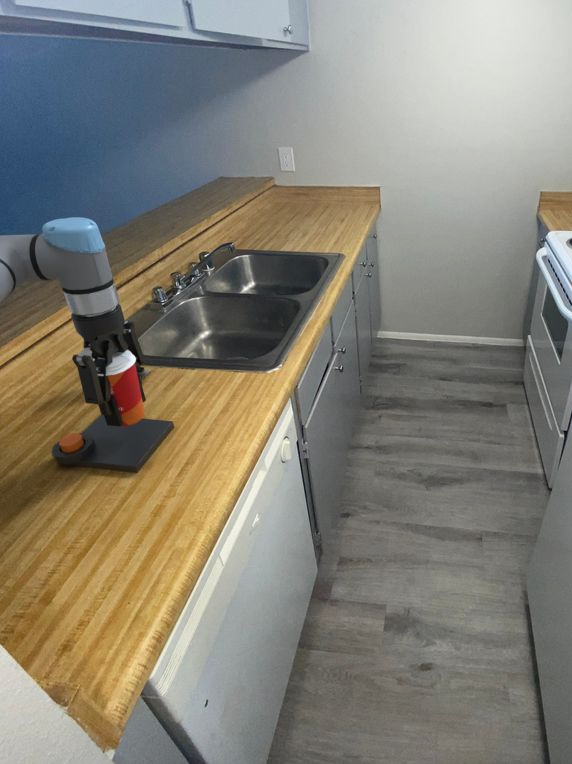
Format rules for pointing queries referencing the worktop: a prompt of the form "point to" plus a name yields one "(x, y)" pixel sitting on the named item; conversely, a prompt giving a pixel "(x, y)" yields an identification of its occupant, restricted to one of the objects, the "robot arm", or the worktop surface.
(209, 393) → the worktop surface
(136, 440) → the scale
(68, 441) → the tare button
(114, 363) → the paper cup
